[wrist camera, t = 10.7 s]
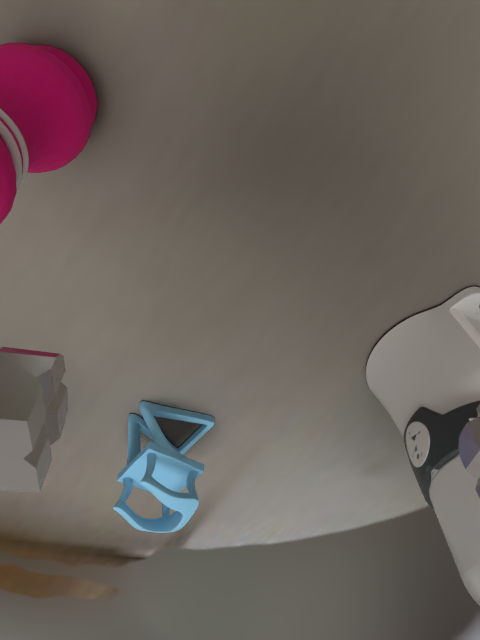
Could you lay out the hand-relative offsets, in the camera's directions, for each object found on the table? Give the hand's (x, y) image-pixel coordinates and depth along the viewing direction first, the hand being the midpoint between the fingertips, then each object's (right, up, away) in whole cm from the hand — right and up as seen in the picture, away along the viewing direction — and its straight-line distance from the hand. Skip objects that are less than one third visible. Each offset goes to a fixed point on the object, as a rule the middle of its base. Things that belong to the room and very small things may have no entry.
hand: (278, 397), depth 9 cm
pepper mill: (-14, +17, +23) cm, 32 cm away
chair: (-9, -10, +44) cm, 46 cm away
